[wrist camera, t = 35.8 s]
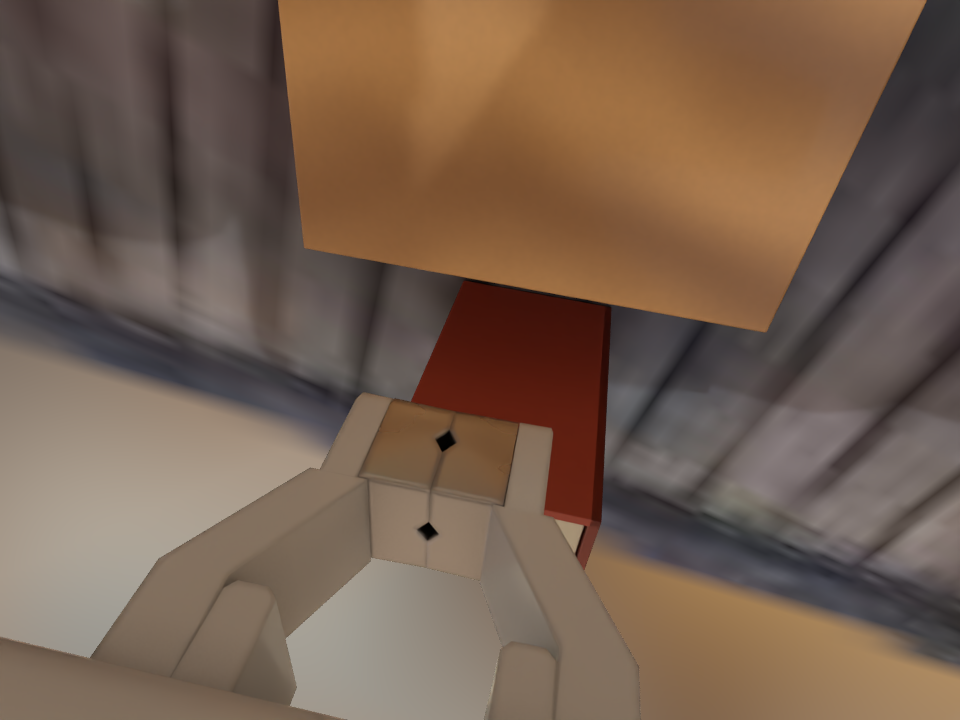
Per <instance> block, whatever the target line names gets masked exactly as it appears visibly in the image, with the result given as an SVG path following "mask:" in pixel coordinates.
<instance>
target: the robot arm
mask: <svg viewBox="0 0 960 720" xmlns="http://www.w3.org/2000/svg"><path fill="white" fill-rule="evenodd" d="M518 426H519V428H518ZM517 432H518V433H517ZM516 438H517V439H516ZM552 440H553V431H552V428H548V427H542V426H536V425H531V424H525V423H520V425H519V422H513V421H508V420H502V419H497V418H491V417H486V416H480V415H475V414H469V413H464V412H458V411H457V412H456V411H451V410H447V409H442V408H437V407H433V406H428V405H423V404H419V403H414V402H409V401H405V400H400V399H396V398H395V399H392V398H387V397H383V396H378V395H374V394H369V393H365V392H363V393H362V394H361V395H360V396H359V397H358V398H356V400H355V402H354V404H353V406H352V408H351V410H350V412H349V414H348V416H347V418H346V420H345V422H344V423H343V425H342V427H341V429H340V431H339V433H338V435H337V437H336V439H335V441H334V443H333V445H332V447H331V449H330V450H329V452H328V454H327V456H326V458H325V460H324V462H323V464H322V466H321V468H320V469H314V468H309V469H307V470H305V471H304V472H302V473H300V474H299V475H297V476H295V477H294V478H292V479H291V480H289V481H287V482H285V483H284V484H282V485H280V486H279V487H277V488H276V489H274V490H272V491H270V492H269V493H267V494H266V495H264V496H262V497H261V498H259V499H257V500H256V501H254V502H252V503H251V504H249V505H247V506H246V507H244V508H242V509H241V510H239V511H237V512H236V513H234V514H232V515H231V516H229V517H227V518H226V519H224V520H222V521H221V522H219V523H217V524H216V525H214V526H212V527H211V528H209V529H207V530H206V531H204V532H202V533H201V534H199V535H197V536H196V537H194V538H192V539H191V540H189V541H187V542H186V543H184V544H182V545H181V546H179V547H177V548H176V549H174V550H173V551H171V552H169V553H167V554H166V555H164V556H162V557H161V558H159V559H158V561H157V562H156V563H155V565H154V566H153V568H152V569H151V570H150V572H149V573H148V575H147V576H146V578H145V579H144V581H143V582H142V584H141V585H140V586H139V588H138V589H137V591H136V592H135V594H134V595H133V596H132V598H131V599H130V601H129V602H128V604H127V605H126V607H125V608H124V609H123V611H122V612H121V614H120V615H119V617H118V618H117V619H116V621H115V622H114V624H113V625H112V627H111V628H110V630H109V631H108V632H107V634H106V635H105V637H104V638H103V640H102V641H101V643H100V644H99V645H98V647H97V648H96V650H95V651H94V653H93V654H92V656H91V657H90V658H87V657H83V656H79V655H75V654H70V653H66V652H62V651H58V650H54V649H50V648H45V647H41V646H37V645H33V644H29V643H24V642H20V641H16V640H12V639H8V638H3V637H0V720H345V719H341V718H337V717H333V716H329V715H325V714H321V713H316V712H312V711H308V710H304V709H300V708H296V707H291V706H290V704H291V701H292V698H293V696H294V693H295V691H296V688H297V686H296V682H295V678H294V673H293V669H292V665H291V661H290V657H289V652H288V648H287V644H286V640H285V639H286V637H288V636H289V635H290V634H291V633H292V632H293V631H294V630H296V628H298V627H299V626H300V625H301V624H302V623H303V622H304V621H305V620H306V619H308V618H309V617H310V616H311V615H312V614H313V613H314V612H315V611H316V610H317V609H318V608H320V607H321V606H322V605H323V604H324V603H325V602H326V601H327V600H329V599H330V597H332V596H333V595H334V594H335V593H336V592H337V591H338V590H340V589H341V588H342V587H343V586H344V585H345V584H346V583H347V582H348V581H349V580H351V579H352V578H353V577H354V576H355V575H356V574H357V573H358V572H359V571H361V570H362V569H363V568H364V567H365V566H366V565H367V564H368V563H369V562H370V561H371V557H372V558H376V559H382V560H387V561H392V562H398V563H403V564H409V565H414V566H419V567H425V568H429V569H433V570H437V571H441V572H445V573H450V574H454V575H458V576H462V577H466V578H470V579H474V580H478V581H480V585H481V588H482V591H483V593H484V596H485V599H486V602H487V605H488V608H489V611H490V613H491V616H492V619H493V622H494V625H495V627H496V630H497V633H498V636H499V639H500V642H501V644H502V647H503V648H501V649H500V653H499V657H498V661H497V665H496V669H495V674H494V678H493V683H492V687H491V691H490V695H489V699H488V704H487V708H486V712H485V716H484V720H640V686H639V685H640V682H639V666H638V664H637V662H636V661H635V659H634V657H633V655H632V654H631V652H630V650H629V648H628V647H627V645H626V643H625V641H624V640H623V638H622V636H621V634H620V633H619V631H618V629H617V627H616V626H615V624H614V622H613V621H612V619H611V617H610V615H609V613H608V611H607V610H606V608H605V606H604V605H603V603H602V601H601V599H600V598H599V596H598V594H597V592H596V590H595V589H594V587H593V585H592V583H591V582H590V580H589V578H588V576H587V575H586V573H585V571H584V569H583V568H582V566H581V564H580V562H579V561H578V559H577V557H576V555H575V554H574V552H573V550H572V548H571V547H570V545H569V543H568V541H567V540H566V538H565V536H564V534H563V533H562V531H561V529H560V527H559V526H558V524H557V522H556V520H555V519H554V517H550V516H546V515H544V508H545V499H546V491H547V482H548V474H549V465H550V457H551V448H552ZM515 443H516V444H515ZM513 454H514V455H513Z"/></svg>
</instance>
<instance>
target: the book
mask: <svg viewBox="0 0 960 720" xmlns="http://www.w3.org/2000/svg"><path fill="white" fill-rule="evenodd" d="M610 328H611V307H606V306H601V305H595V304H590V303H584V302H579V301H573V300H568V299H562V298H557V297H551V296H546V295H541V294H535V293H530V292H524V291H519V290H513V289H508V288H502V287H497V286H491V285H486V284H480V283H475V282H470V281H463V283H462V286H461V288H460V290H459V293H458V295H457V297H456V299H455V302H454V304H453V306H452V309H451V311H450V313H449V316H448V318H447V320H446V322H445V325H444V327H443V329H442V332H441V334H440V336H439V338H438V341H437V343H436V345H435V348H434V350H433V352H432V354H431V357H430V359H429V361H428V364H427V366H426V368H425V370H424V373H423V375H422V377H421V380H420V382H419V384H418V386H417V389H416V391H415V393H414V396H413V398H412V400H411V402H414V403H419V404H423V405H428V406H433V407H437V408H442V409H447V410H451V411H456V412H457V411H458V412H464V413H469V414H475V415H480V416H486V417H491V418H497V419H502V420H508V421H513V422H519V425H520V423H525V424H531V425H536V426H542V427H548V428H552V431H553V440H552V448H551V457H550V465H549V474H548V482H547V491H546V499H545V508H544V515H546V516H550V517H554V519H555V520H556V522H557V524H558V526H559V527H560V529H561V531H562V533H563V534H564V536H565V538H566V540H567V541H568V543H569V545H570V547H571V548H572V550H573V552H574V554H575V555H576V557H577V559H578V561H579V562H580V564H581V566H582V568H583V569H584V570H585V567H586V564H587V561H588V558H589V555H590V553H591V550H592V547H593V544H594V541H595V538H596V536H597V533H598V530H599V527H600V524H601V517H602V496H603V475H604V454H605V433H606V412H607V391H608V370H609V349H610ZM518 428H519V426H518ZM517 433H518V432H517ZM516 439H517V438H516ZM515 444H516V443H515ZM513 455H514V454H513Z"/></svg>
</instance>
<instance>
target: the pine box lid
mask: <svg viewBox="0 0 960 720" xmlns="http://www.w3.org/2000/svg"><path fill="white" fill-rule="evenodd" d="M926 1H927V0H278V6H279V15H280V24H281V34H282V43H283V53H284V62H285V72H286V81H287V91H288V100H289V110H290V119H291V128H292V138H293V147H294V157H295V166H296V176H297V185H298V195H299V204H300V214H301V223H302V232H303V242H304V248H306V249H312V250H317V251H323V252H328V253H334V254H339V255H345V256H350V257H356V258H361V259H367V260H372V261H377V262H383V263H388V264H394V265H399V266H405V267H410V268H416V269H421V270H427V271H432V272H438V273H443V274H448V275H454V276H459V277H465V278H470V279H476V280H481V281H487V282H492V283H498V284H503V285H509V286H514V287H519V288H525V289H530V290H536V291H541V292H547V293H552V294H558V295H563V296H569V297H574V298H580V299H585V300H590V301H596V302H601V303H607V304H612V305H618V306H623V307H629V308H634V309H640V310H645V311H651V312H656V313H661V314H667V315H672V316H678V317H683V318H689V319H694V320H700V321H705V322H711V323H716V324H722V325H727V326H732V327H738V328H743V329H749V330H754V331H760V332H767V330H768V328H769V326H770V324H771V322H772V320H773V317H774V315H775V313H776V311H777V309H778V307H779V305H780V303H781V301H782V299H783V297H784V295H785V293H786V291H787V288H788V286H789V284H790V282H791V280H792V278H793V276H794V274H795V272H796V270H797V268H798V266H799V264H800V262H801V260H802V257H803V255H804V253H805V251H806V249H807V247H808V245H809V243H810V241H811V239H812V237H813V235H814V233H815V231H816V229H817V226H818V224H819V222H820V220H821V218H822V216H823V214H824V212H825V210H826V208H827V206H828V204H829V202H830V200H831V198H832V195H833V193H834V191H835V189H836V187H837V185H838V183H839V181H840V179H841V177H842V175H843V173H844V171H845V169H846V166H847V164H848V162H849V160H850V158H851V156H852V154H853V152H854V150H855V148H856V146H857V144H858V142H859V140H860V138H861V135H862V133H863V131H864V129H865V127H866V125H867V123H868V121H869V119H870V117H871V115H872V113H873V111H874V109H875V107H876V104H877V102H878V100H879V98H880V96H881V94H882V92H883V90H884V88H885V86H886V84H887V82H888V80H889V78H890V75H891V73H892V71H893V69H894V67H895V65H896V63H897V61H898V59H899V57H900V55H901V53H902V51H903V49H904V47H905V44H906V42H907V40H908V38H909V36H910V34H911V32H912V30H913V28H914V26H915V24H916V22H917V20H918V18H919V16H920V13H921V11H922V9H923V7H924V5H925V3H926Z"/></svg>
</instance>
